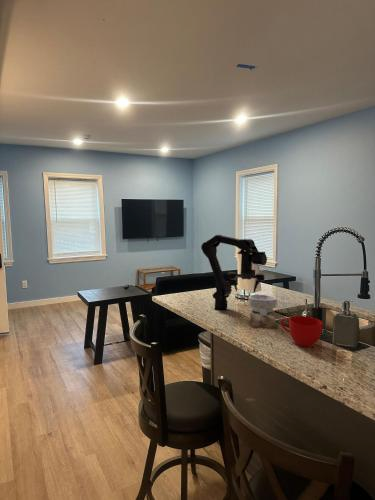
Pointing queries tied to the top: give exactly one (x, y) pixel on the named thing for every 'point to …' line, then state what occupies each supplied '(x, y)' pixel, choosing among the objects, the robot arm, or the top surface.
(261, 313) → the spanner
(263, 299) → the paper bowls
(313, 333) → the ceramic cup
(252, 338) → the top surface
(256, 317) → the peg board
